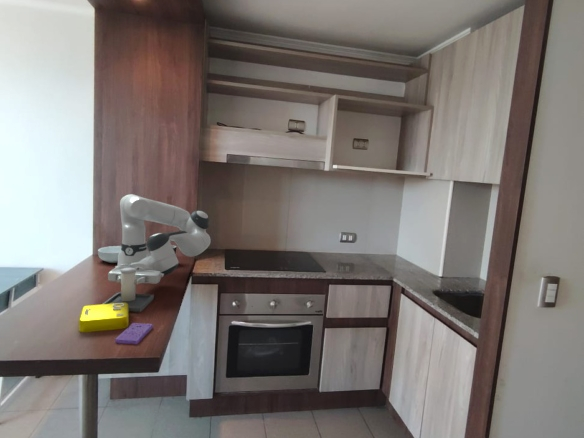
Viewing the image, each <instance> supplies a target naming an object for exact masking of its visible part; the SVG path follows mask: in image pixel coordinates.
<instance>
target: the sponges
mask: <svg viewBox="0 0 584 438" xmlns="http://www.w3.org/2000/svg"><path fill="white" fill-rule="evenodd" d="M152 329H153V323H137V322H132V323H131V324H129V325H128V327H126V328H125V330H124V331H122V332H121V333H120V334H119V335H118V336H117V337H116V338H115V340H114V342H116V344H128V345H129V344H131V345H138V344H139V343H140V342H141V341H142V340H143V338H145V336H146V335H148V333H149V332H150V331H151V330H152Z"/></svg>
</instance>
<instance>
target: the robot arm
mask: <svg viewBox="0 0 584 438" xmlns="http://www.w3.org/2000/svg"><path fill="white" fill-rule="evenodd" d="M119 207H120V219H121V228H122V229H121V231H122V233H121V235H122V237H121V240H122V241H121V244H120V246H121V250H122V251H121V252H120V253H119V255H118V263H117V265H115V266H114V268H112V269H111V270H110V271H109V272H108V273H107V279H108V281H109V282H116V283H117V284H121V269H123V268H135V269H136V279H135V281H134V282H135V283H134V284H136V285H139V284H151V285H152V284H153V285H156V284H159V283H160V281H161V279H162V278H163V277H164V276H168V275H169V274H171V273H173V272H174V271H176V270H177V269H178V266H179V265H180V261H179V259H178V257H177V255H176V254H175V252H174V250H173V247H172V245H173V244H172V242H174V243H175V244H176V246H177V248H178V249H179V250H180V252H181V253H182V254H183V255H185V256H187V257H189V258H190V257H195V256H198V255H200V254H202V253H203V252H205V250H207V249H208V247H210V244H211V240H212V239H211V237H210V234H208V233H207V231H206V230H207V229H209V227H210V226H209V224H210V215H208V213H207V212H205V211H203V210H199V209H197V210H196V209H195V210H194V211H192V213H191V214H190V212H189V211H188V210H186V209H184V208H182V207H179V206H176V205H172V204H169V203H165V202H162V201H157V200H155V199H150V198H146V197H142V196H140V195H136V194H134V193H131V194H126V195H124V196H122V198H121V199H120V200H119ZM145 221H148V222H154V223H158V224H162V225H166V226H171V227H175V228H178V229H179V230H177V231H169V232H158V233H157V232H156V233H154V234H152V235H150V236H149V237H148V238H147V240H146V231H147V230H146V228H147V227H146V225H145Z"/></svg>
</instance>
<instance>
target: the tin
mask: <svg viewBox="0 0 584 438" xmlns="http://www.w3.org/2000/svg"><path fill="white" fill-rule="evenodd" d="M135 279H136V269H135V268H123V269H121V283H120V293H121V300H122V301H133V300H135V294H136V287H137V286H136V285H137V284H134V283H135V282H134V281H135Z"/></svg>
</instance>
